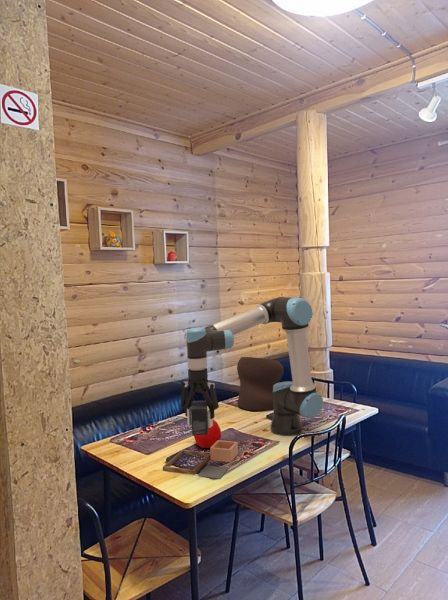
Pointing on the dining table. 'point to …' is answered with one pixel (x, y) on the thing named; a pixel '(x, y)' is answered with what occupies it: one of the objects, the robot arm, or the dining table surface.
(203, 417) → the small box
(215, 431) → the red round ball
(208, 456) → the tray
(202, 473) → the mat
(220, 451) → the terracotta pot
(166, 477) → the dining table surface
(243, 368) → the vase
